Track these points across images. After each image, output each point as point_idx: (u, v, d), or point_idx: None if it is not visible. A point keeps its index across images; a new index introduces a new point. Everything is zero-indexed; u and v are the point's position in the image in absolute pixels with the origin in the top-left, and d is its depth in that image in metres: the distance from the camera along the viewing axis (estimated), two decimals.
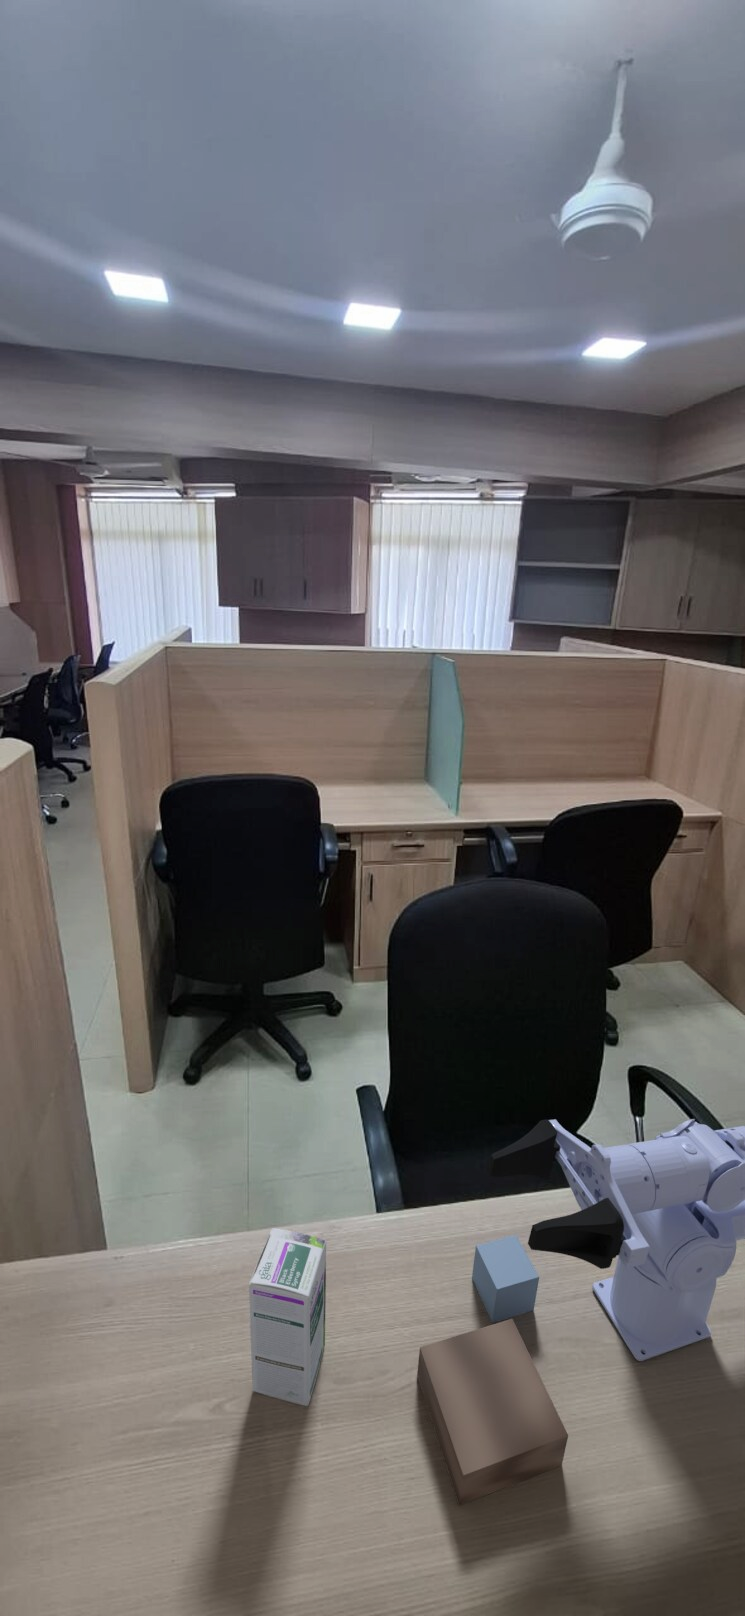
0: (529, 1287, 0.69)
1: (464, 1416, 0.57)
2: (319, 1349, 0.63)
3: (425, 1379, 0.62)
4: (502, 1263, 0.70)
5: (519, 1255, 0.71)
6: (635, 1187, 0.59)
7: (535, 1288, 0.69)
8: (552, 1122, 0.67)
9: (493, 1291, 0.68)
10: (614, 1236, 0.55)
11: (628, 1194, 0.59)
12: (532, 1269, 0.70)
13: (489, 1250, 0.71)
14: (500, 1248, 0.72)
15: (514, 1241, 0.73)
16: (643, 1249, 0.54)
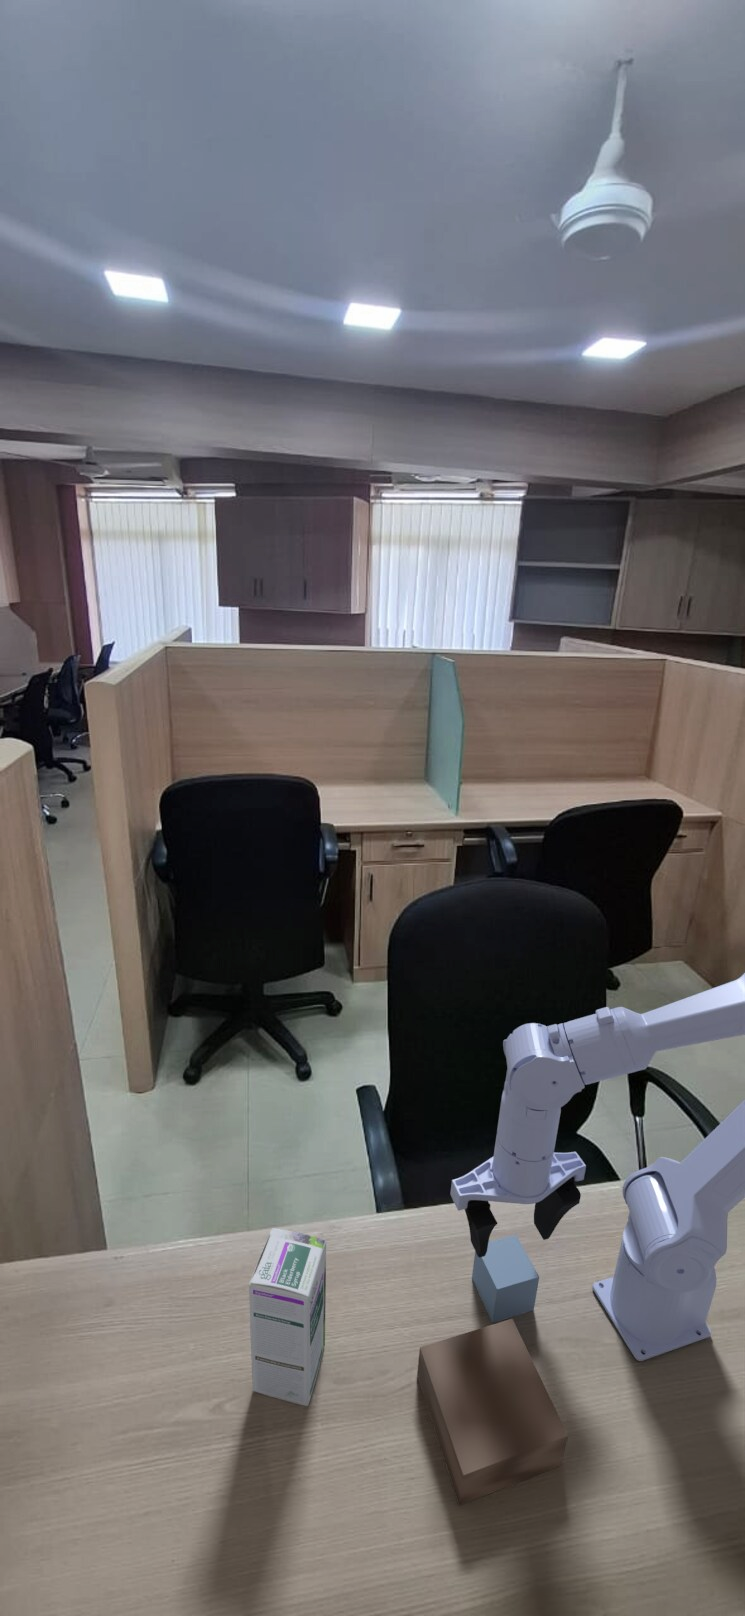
0: (529, 1287, 0.69)
1: (464, 1416, 0.57)
2: (319, 1349, 0.63)
3: (425, 1379, 0.62)
4: (502, 1263, 0.70)
5: (519, 1255, 0.71)
6: None
7: (535, 1288, 0.69)
8: None
9: (494, 1291, 0.68)
10: None
11: (493, 1157, 0.67)
12: (532, 1269, 0.70)
13: (489, 1250, 0.71)
14: (500, 1248, 0.72)
15: (514, 1241, 0.73)
16: (452, 1186, 0.65)
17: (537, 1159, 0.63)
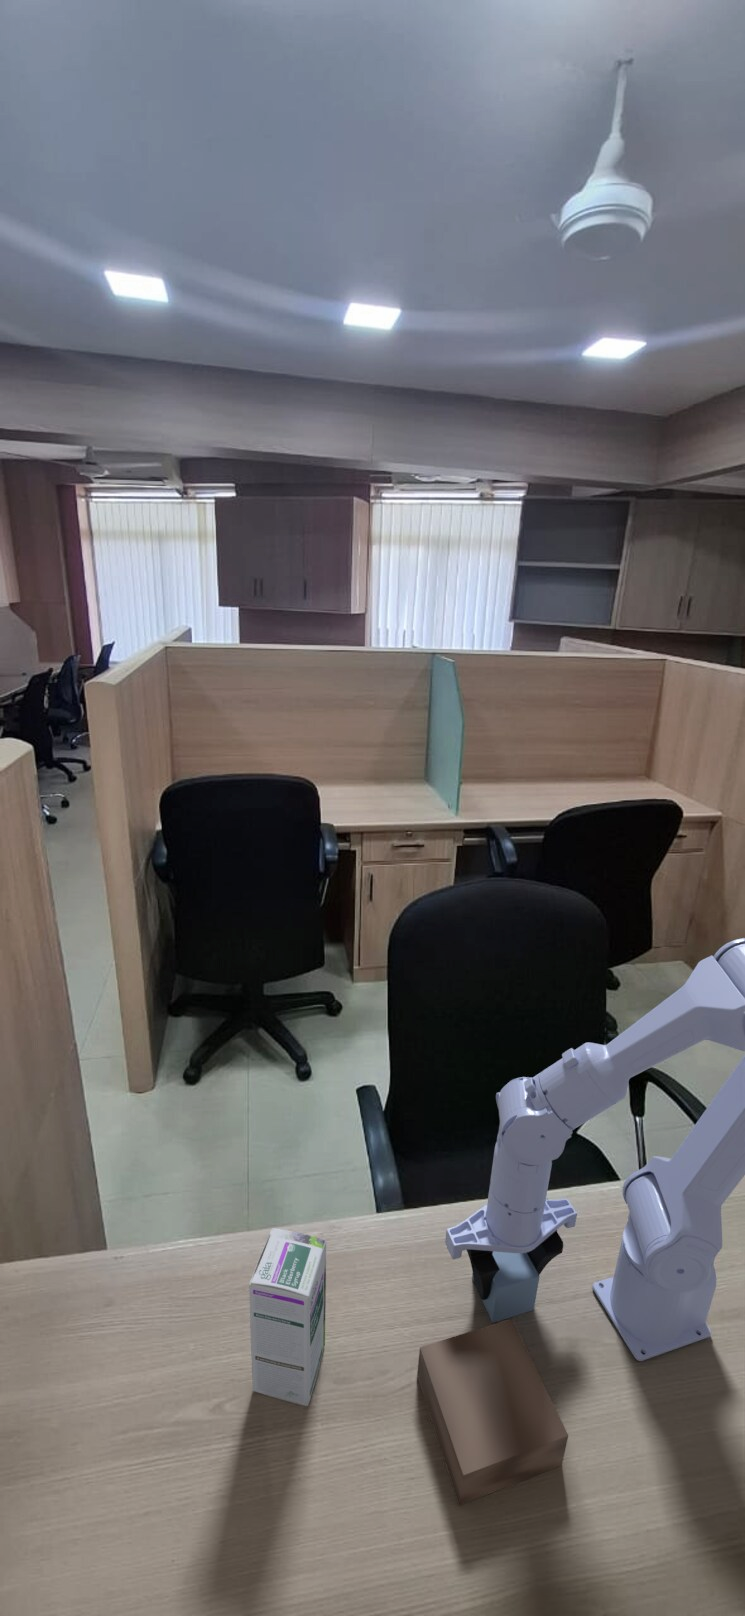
0: (530, 1286, 0.69)
1: (464, 1416, 0.57)
2: (319, 1349, 0.63)
3: (425, 1379, 0.62)
4: (502, 1262, 0.70)
5: (520, 1255, 0.71)
6: (488, 1196, 0.69)
7: (535, 1287, 0.69)
8: None
9: (494, 1290, 0.68)
10: None
11: (487, 1206, 0.69)
12: (532, 1268, 0.70)
13: None
14: None
15: None
16: (446, 1234, 0.67)
17: (529, 1211, 0.65)
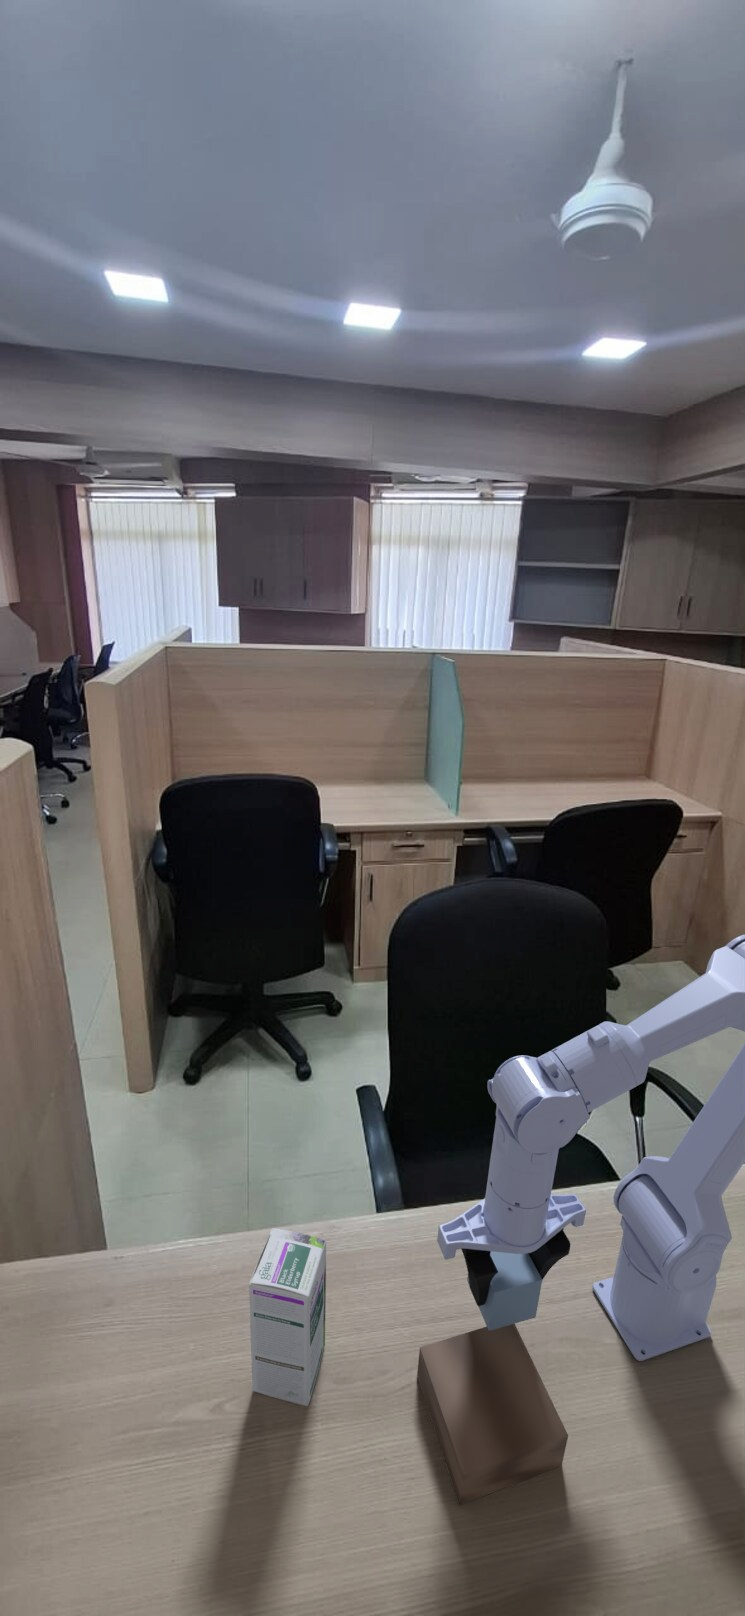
0: (531, 1291, 0.62)
1: (464, 1416, 0.57)
2: (319, 1349, 0.63)
3: (425, 1379, 0.62)
4: (501, 1263, 0.63)
5: (520, 1255, 0.64)
6: (486, 1189, 0.61)
7: (537, 1292, 0.62)
8: None
9: (491, 1294, 0.61)
10: None
11: (485, 1200, 0.61)
12: (534, 1271, 0.62)
13: None
14: None
15: None
16: (439, 1231, 0.60)
17: (541, 1203, 0.57)
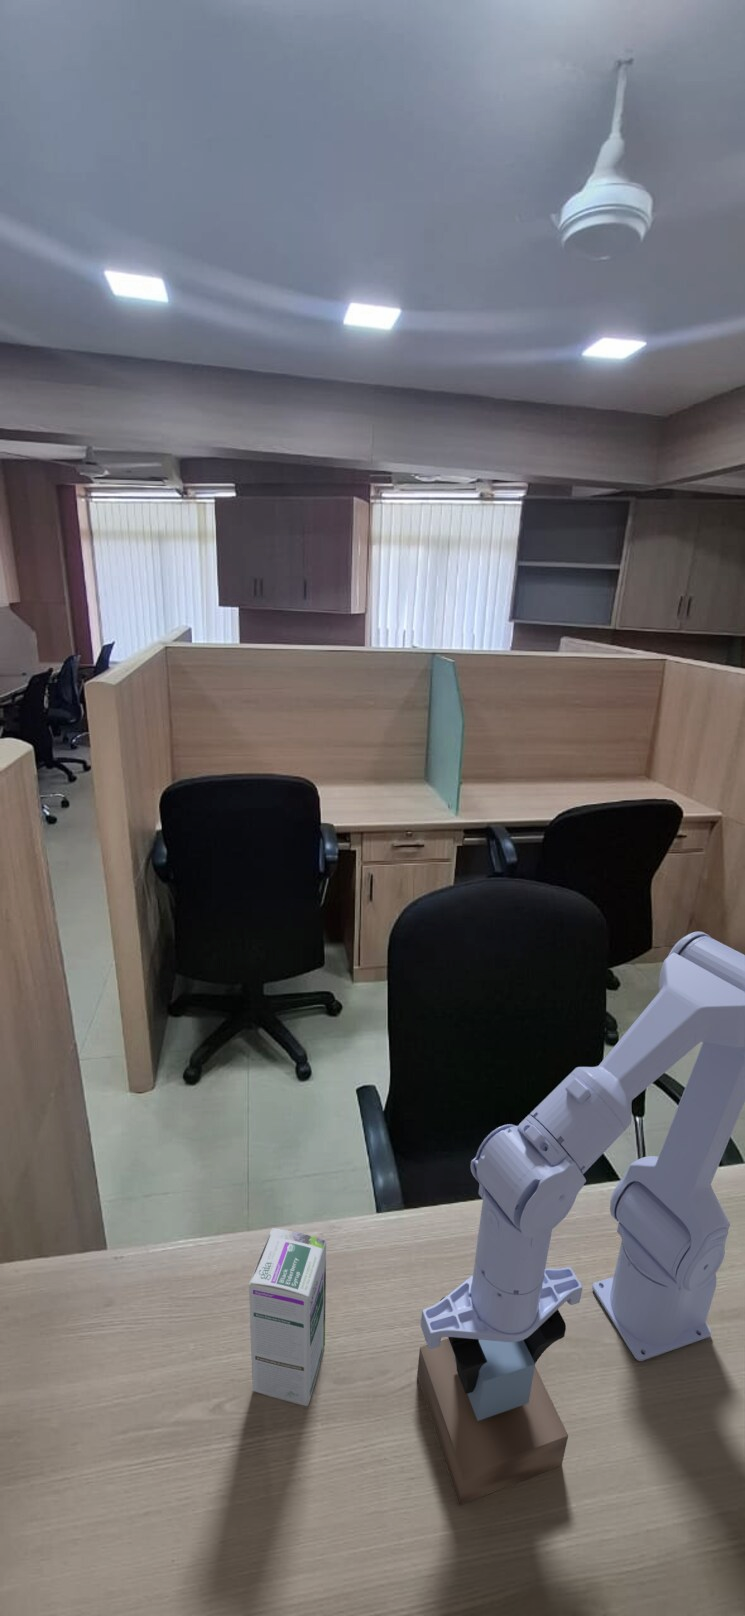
0: (523, 1377, 0.57)
1: (464, 1416, 0.57)
2: (319, 1349, 0.63)
3: (425, 1379, 0.62)
4: (490, 1345, 0.58)
5: None
6: None
7: (530, 1377, 0.57)
8: None
9: (479, 1382, 0.56)
10: None
11: (472, 1280, 0.56)
12: (526, 1354, 0.57)
13: None
14: None
15: None
16: (422, 1317, 0.55)
17: (539, 1283, 0.53)
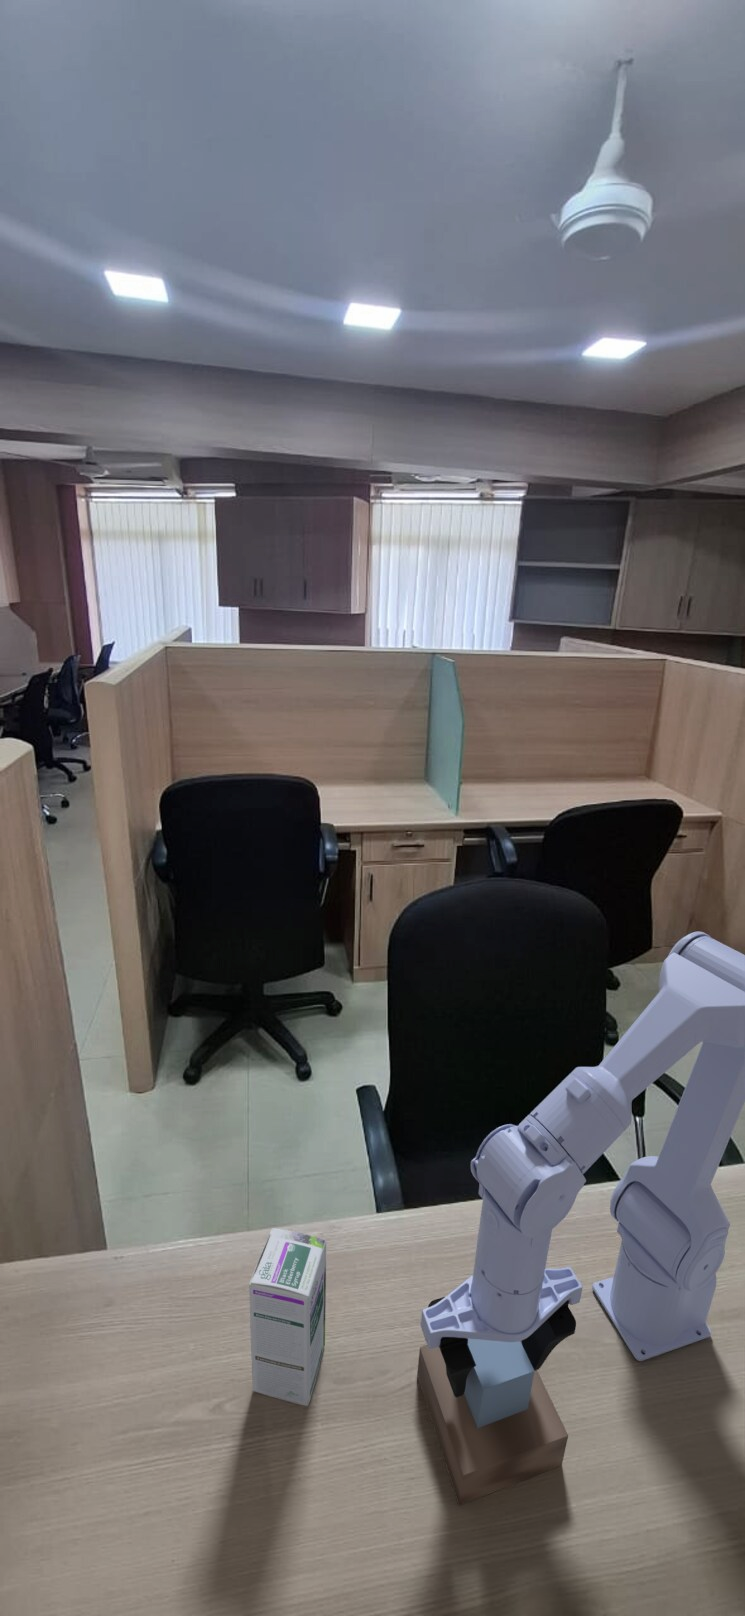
0: (523, 1383, 0.57)
1: (464, 1416, 0.57)
2: (319, 1349, 0.63)
3: (425, 1379, 0.62)
4: (490, 1352, 0.58)
5: None
6: None
7: (529, 1383, 0.57)
8: None
9: (479, 1390, 0.56)
10: None
11: (472, 1280, 0.56)
12: (526, 1360, 0.57)
13: None
14: None
15: None
16: (422, 1317, 0.55)
17: (539, 1283, 0.53)
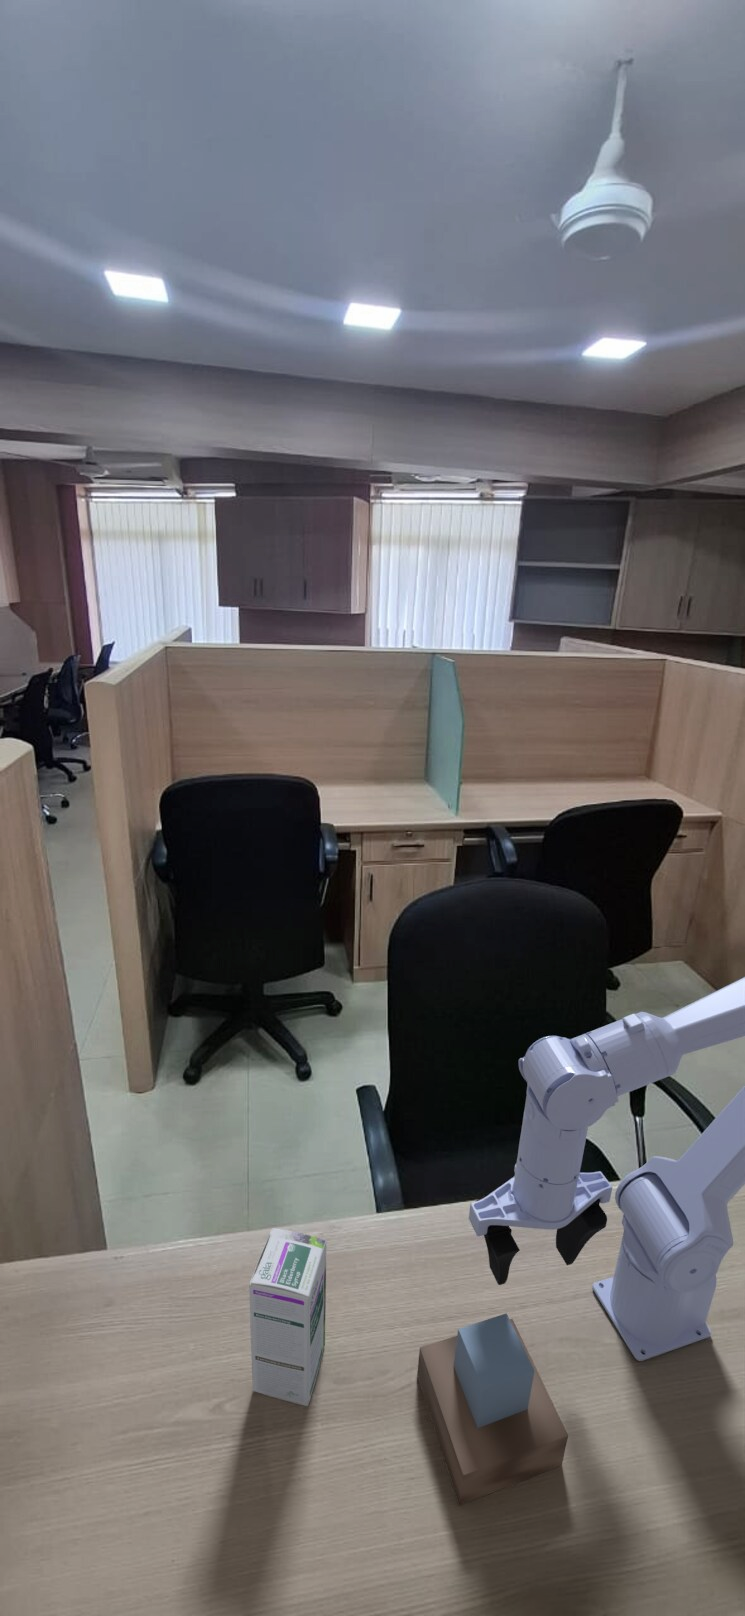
0: (523, 1383, 0.57)
1: (464, 1416, 0.57)
2: (319, 1349, 0.63)
3: (425, 1379, 0.62)
4: (490, 1352, 0.58)
5: (511, 1341, 0.59)
6: None
7: (529, 1383, 0.57)
8: None
9: (479, 1390, 0.56)
10: None
11: (514, 1179, 0.63)
12: (526, 1360, 0.57)
13: (474, 1335, 0.59)
14: (487, 1332, 0.60)
15: (504, 1322, 0.60)
16: (470, 1209, 0.61)
17: (569, 1180, 0.59)
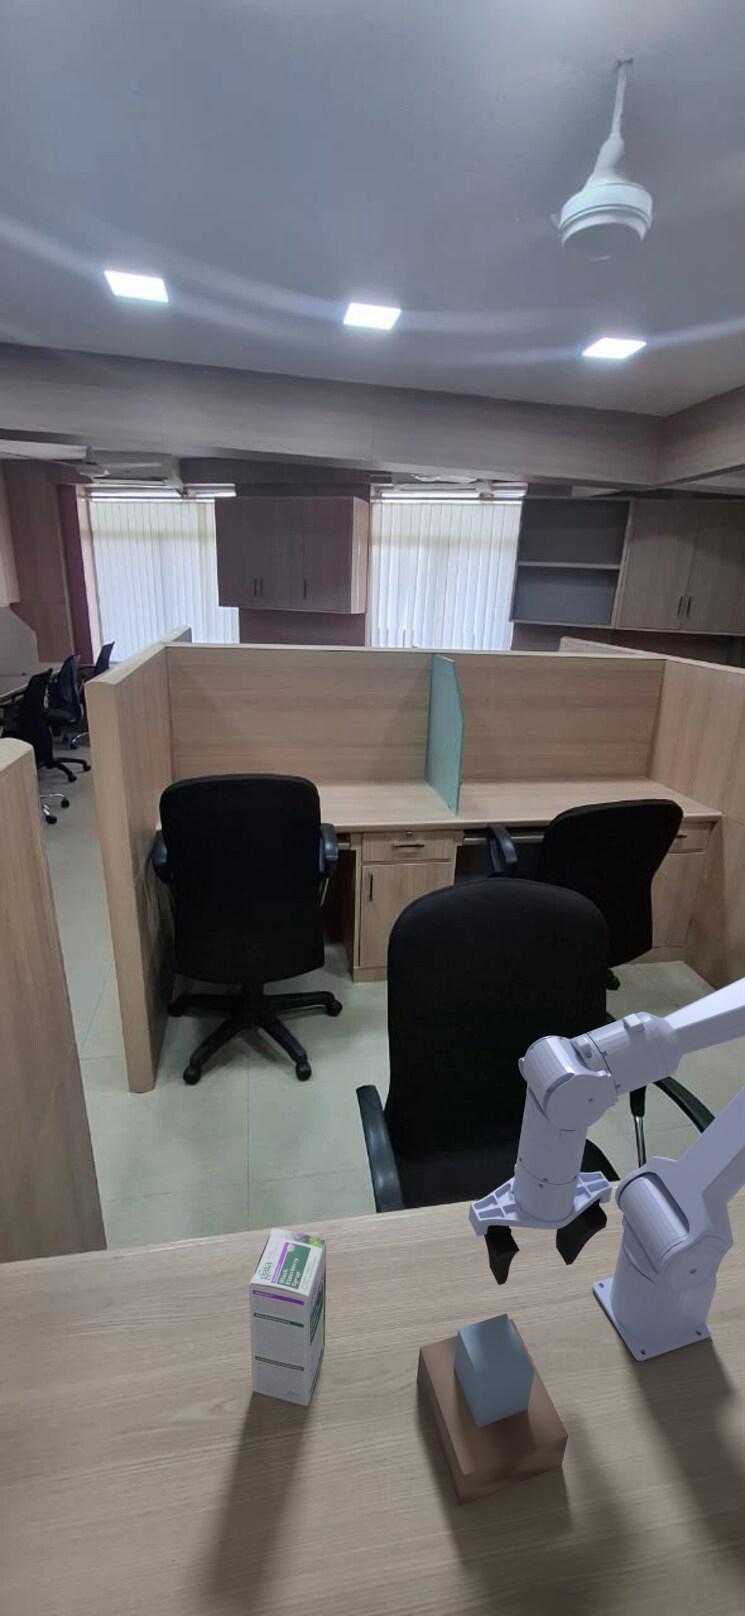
0: (523, 1383, 0.57)
1: (464, 1416, 0.57)
2: (319, 1349, 0.63)
3: (425, 1379, 0.62)
4: (490, 1352, 0.58)
5: (511, 1341, 0.59)
6: None
7: (529, 1383, 0.57)
8: None
9: (479, 1390, 0.56)
10: None
11: (514, 1179, 0.63)
12: (526, 1360, 0.57)
13: (474, 1335, 0.59)
14: (487, 1332, 0.60)
15: (504, 1322, 0.60)
16: (470, 1209, 0.61)
17: (569, 1180, 0.59)
